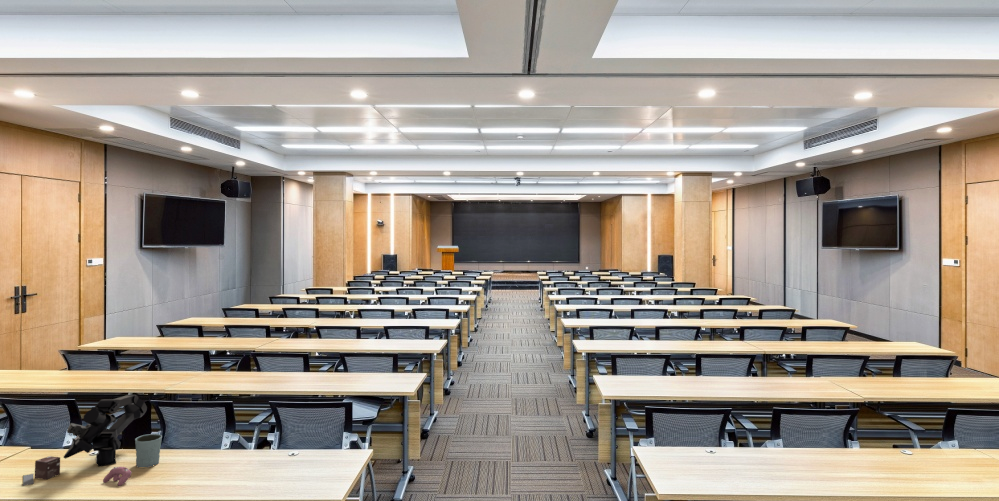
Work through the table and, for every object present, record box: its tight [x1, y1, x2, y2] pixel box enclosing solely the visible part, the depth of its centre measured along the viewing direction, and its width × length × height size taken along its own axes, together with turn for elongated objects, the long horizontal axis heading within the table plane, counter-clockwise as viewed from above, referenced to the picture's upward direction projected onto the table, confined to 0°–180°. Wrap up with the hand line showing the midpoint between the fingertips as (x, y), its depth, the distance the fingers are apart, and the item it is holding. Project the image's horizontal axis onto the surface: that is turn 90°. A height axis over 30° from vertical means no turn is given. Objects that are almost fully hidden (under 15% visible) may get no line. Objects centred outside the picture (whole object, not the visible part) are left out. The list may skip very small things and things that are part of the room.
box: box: [34, 455, 61, 480], centre depth 230 cm, size 6×6×7 cm
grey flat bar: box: [22, 473, 35, 487], centre depth 226 cm, size 3×12×1 cm, turn 41°
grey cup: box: [134, 433, 163, 468], centre depth 246 cm, size 10×10×12 cm
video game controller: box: [102, 466, 132, 487], centre depth 227 cm, size 10×5×7 cm, turn 71°
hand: (64, 457), depth 234 cm, fingers closed
